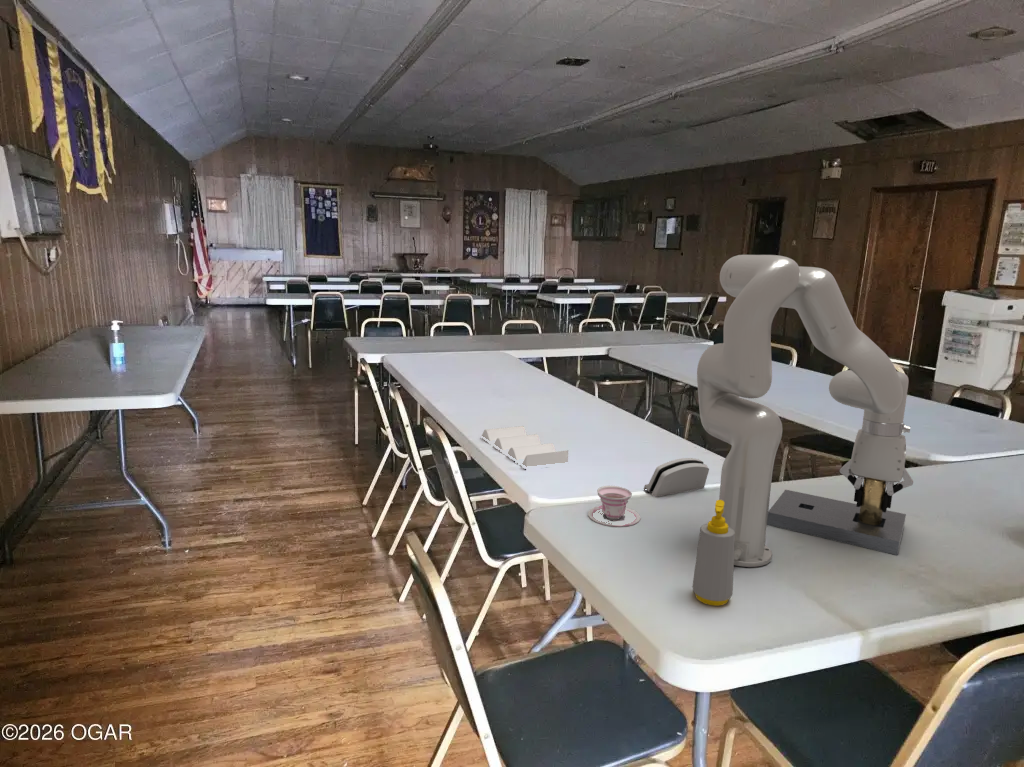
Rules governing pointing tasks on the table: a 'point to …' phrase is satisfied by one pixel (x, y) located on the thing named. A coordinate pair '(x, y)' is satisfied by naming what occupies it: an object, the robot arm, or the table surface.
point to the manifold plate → (836, 521)
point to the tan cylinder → (872, 501)
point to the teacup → (613, 504)
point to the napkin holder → (678, 477)
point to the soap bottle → (715, 560)
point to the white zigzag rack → (525, 446)
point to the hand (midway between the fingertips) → (871, 506)
